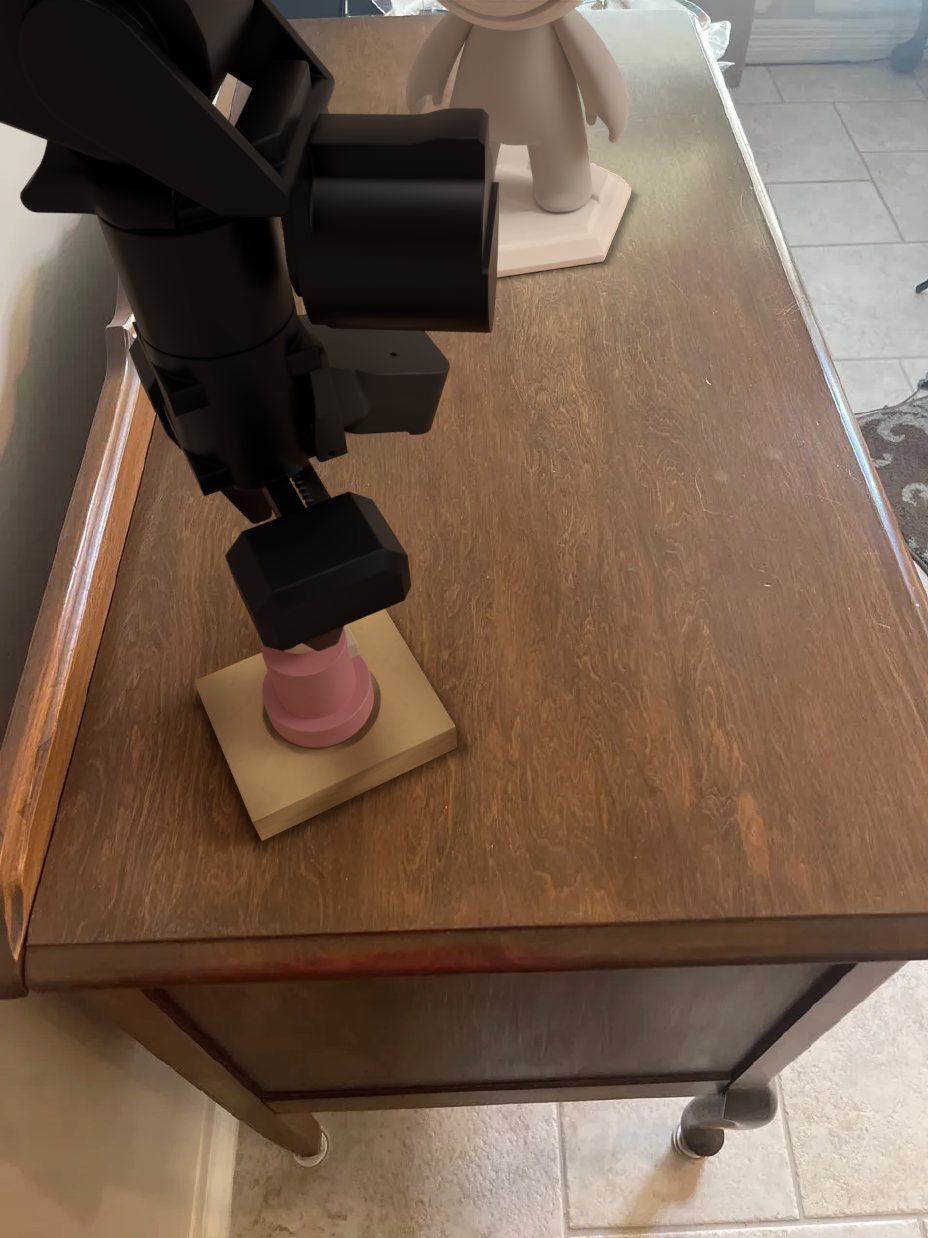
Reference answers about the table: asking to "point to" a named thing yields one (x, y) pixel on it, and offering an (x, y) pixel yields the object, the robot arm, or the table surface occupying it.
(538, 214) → the white cartoon figure
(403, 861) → the table surface
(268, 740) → the doll stand
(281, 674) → the doll
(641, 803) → the table surface
